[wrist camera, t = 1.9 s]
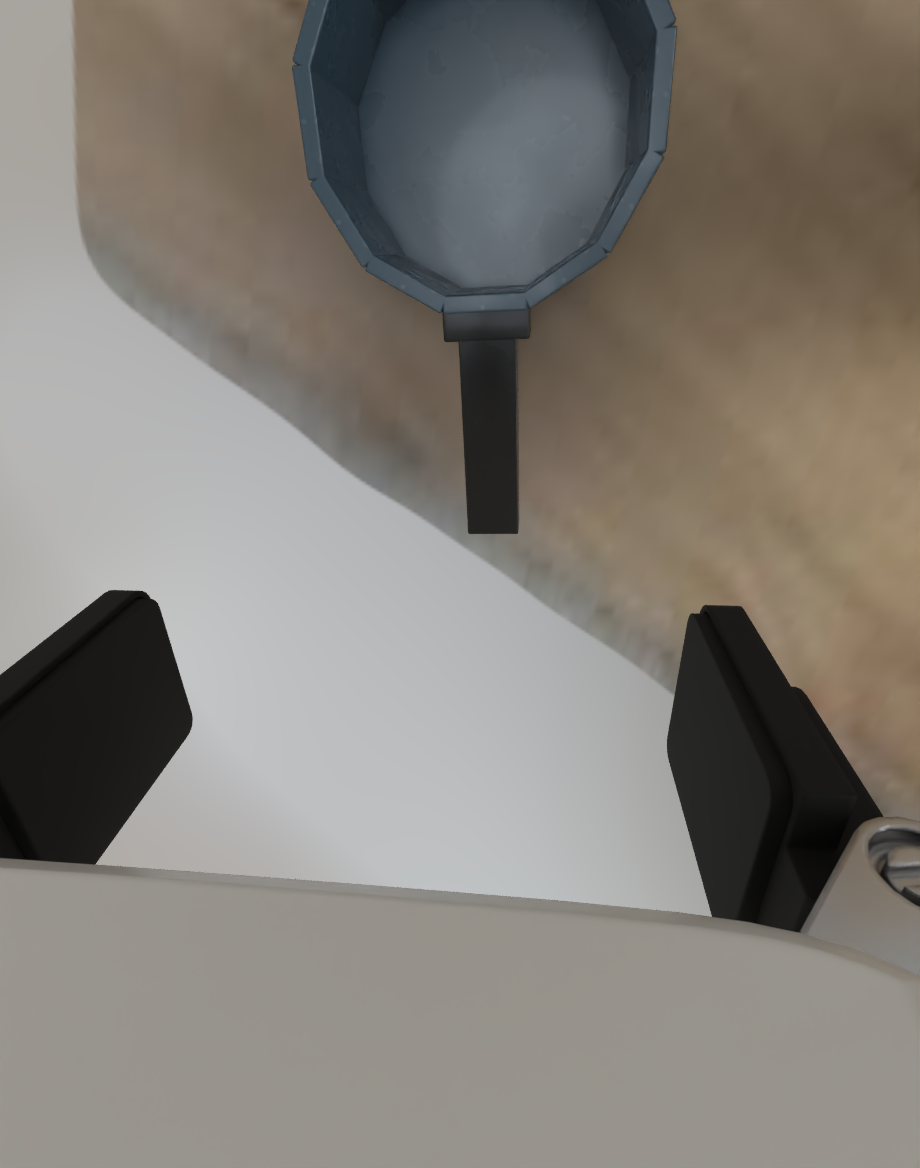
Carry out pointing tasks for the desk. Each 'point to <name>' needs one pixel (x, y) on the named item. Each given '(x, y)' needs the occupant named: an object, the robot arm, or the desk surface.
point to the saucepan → (484, 169)
